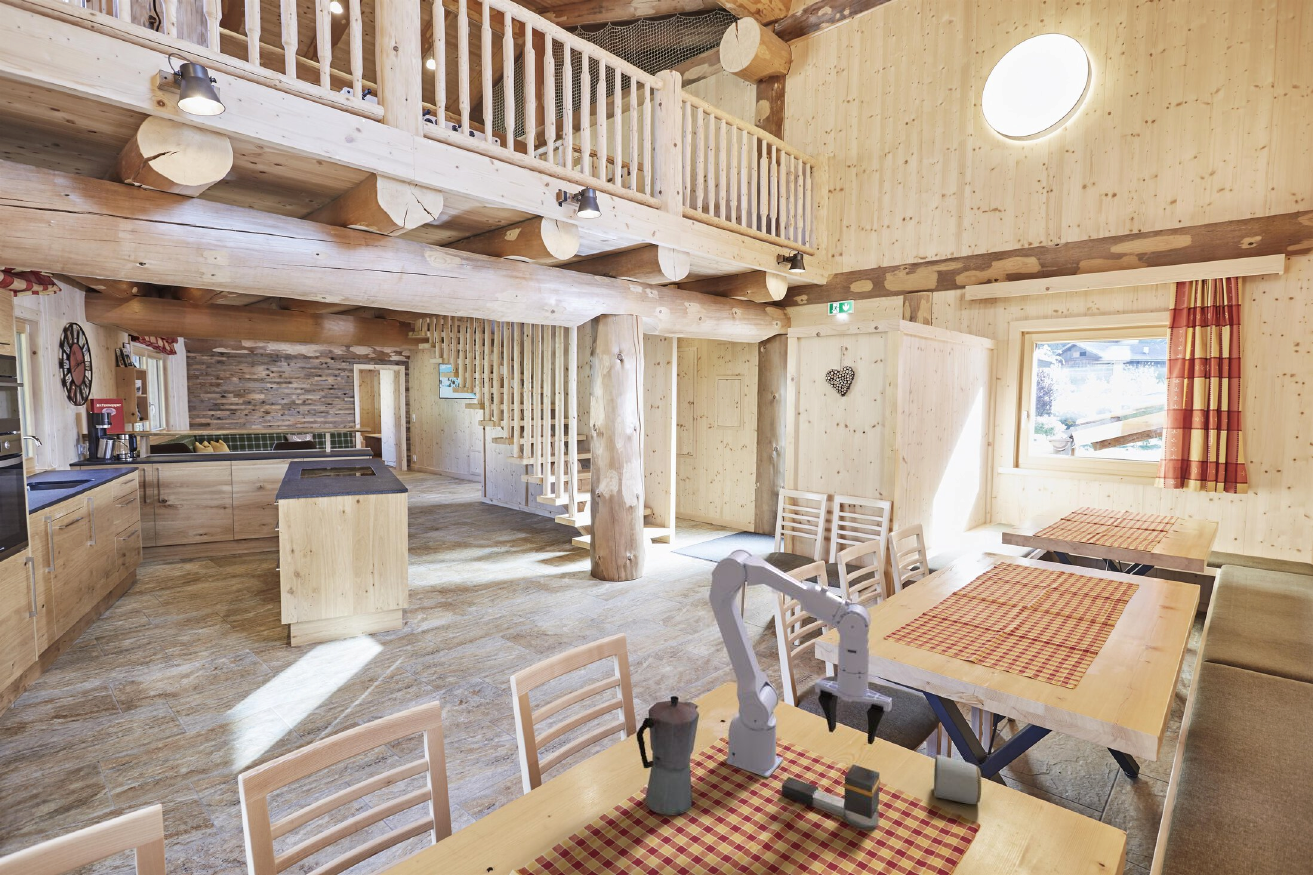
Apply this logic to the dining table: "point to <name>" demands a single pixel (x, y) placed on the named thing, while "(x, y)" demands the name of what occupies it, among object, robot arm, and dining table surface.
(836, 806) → the ratchet
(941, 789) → the ceramic mug
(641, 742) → the moka pot
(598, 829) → the dining table surface
